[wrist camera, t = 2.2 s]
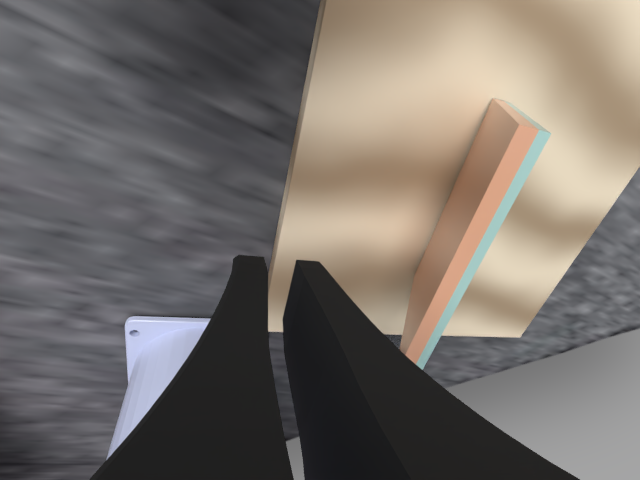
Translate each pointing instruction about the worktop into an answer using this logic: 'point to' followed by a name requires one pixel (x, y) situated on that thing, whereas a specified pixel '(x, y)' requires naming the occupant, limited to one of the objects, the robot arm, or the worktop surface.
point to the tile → (470, 222)
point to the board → (455, 146)
